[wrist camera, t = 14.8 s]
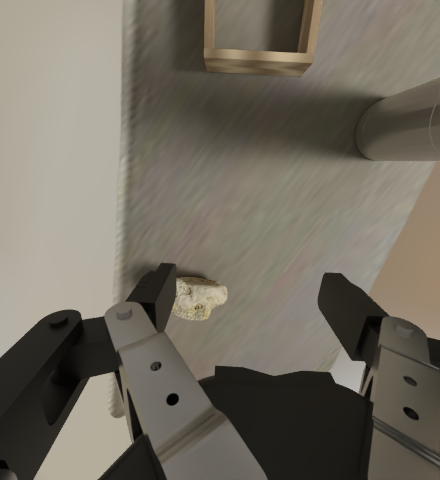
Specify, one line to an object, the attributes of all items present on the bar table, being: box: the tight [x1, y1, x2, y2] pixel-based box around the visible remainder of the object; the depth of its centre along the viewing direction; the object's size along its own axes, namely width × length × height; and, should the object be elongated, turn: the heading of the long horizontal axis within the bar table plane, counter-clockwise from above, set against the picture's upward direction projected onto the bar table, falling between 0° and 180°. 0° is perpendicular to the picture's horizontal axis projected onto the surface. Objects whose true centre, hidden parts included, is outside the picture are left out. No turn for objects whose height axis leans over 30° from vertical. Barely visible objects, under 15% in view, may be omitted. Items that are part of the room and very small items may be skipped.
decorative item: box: [171, 277, 227, 321], centre depth 42 cm, size 12×9×10 cm
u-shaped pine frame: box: [204, 0, 323, 77], centre depth 29 cm, size 14×14×5 cm
